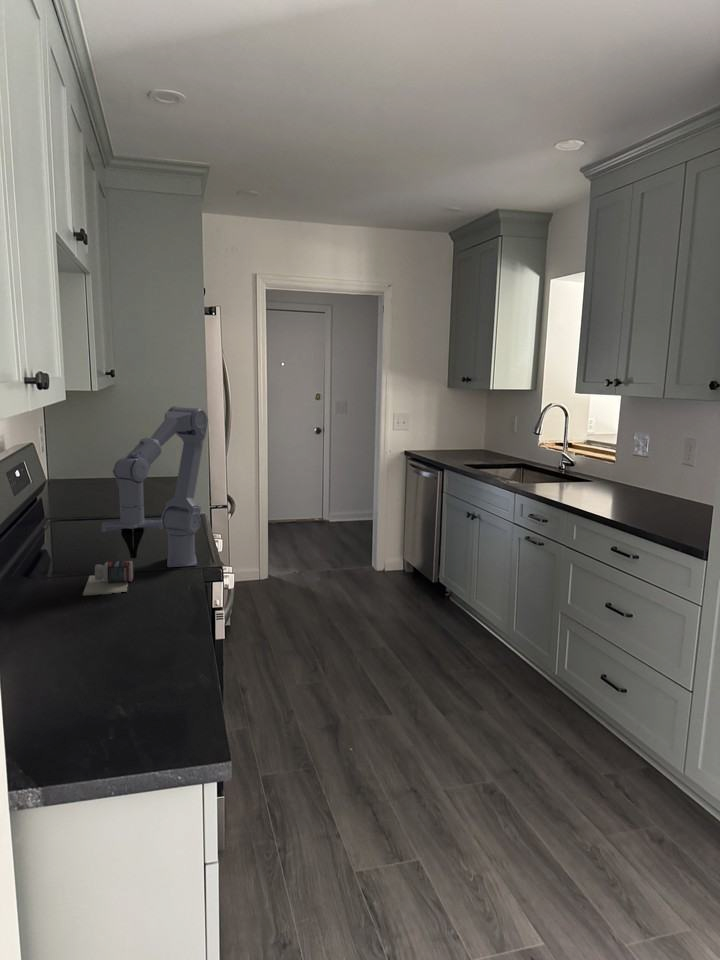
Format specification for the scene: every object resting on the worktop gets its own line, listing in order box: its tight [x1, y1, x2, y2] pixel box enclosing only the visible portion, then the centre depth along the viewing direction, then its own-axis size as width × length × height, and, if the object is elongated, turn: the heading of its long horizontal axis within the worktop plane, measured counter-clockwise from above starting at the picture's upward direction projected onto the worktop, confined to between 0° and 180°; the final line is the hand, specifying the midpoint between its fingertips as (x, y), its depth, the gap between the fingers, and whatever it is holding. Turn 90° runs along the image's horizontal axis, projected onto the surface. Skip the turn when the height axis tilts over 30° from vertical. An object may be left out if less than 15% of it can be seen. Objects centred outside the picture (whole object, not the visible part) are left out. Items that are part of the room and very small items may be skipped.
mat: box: [82, 574, 129, 596], centre depth 165 cm, size 14×10×1 cm
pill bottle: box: [94, 560, 134, 582], centre depth 166 cm, size 5×5×9 cm
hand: (133, 557), depth 166 cm, fingers closed
